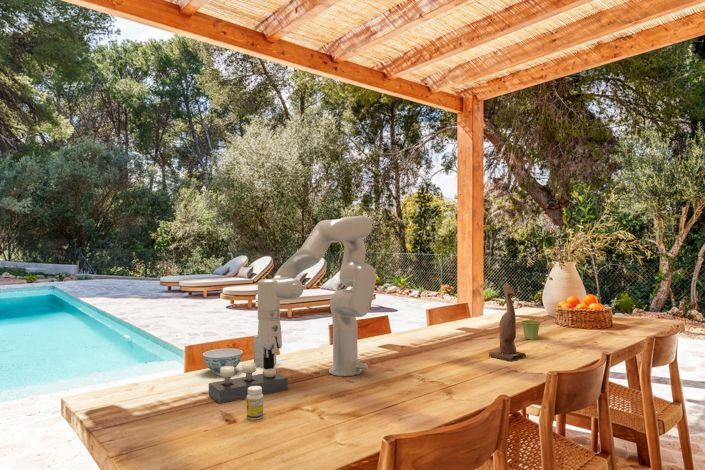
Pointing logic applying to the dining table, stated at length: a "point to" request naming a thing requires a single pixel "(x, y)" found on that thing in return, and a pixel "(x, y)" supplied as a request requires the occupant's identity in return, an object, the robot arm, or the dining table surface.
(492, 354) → the bird sculpture
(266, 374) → the knob
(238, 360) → the chinaware
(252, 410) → the supplement bottle
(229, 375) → the knob
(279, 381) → the knob plate
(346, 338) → the robot arm
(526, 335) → the plant pot
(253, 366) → the knob middle
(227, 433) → the dining table surface
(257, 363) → the supplement box
